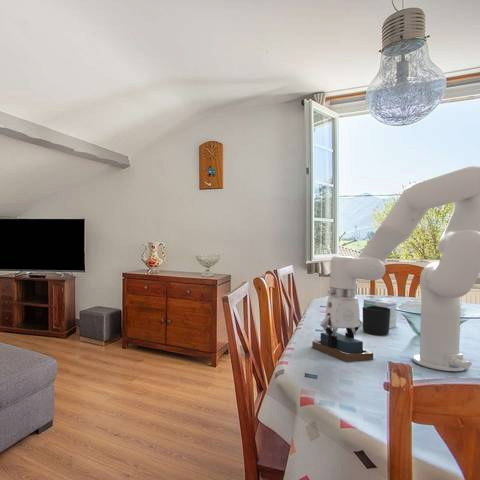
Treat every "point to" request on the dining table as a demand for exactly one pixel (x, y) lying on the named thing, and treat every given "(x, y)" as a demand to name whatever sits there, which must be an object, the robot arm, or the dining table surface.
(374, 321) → the pen holder
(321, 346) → the frame
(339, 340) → the back pad
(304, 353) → the dining table surface
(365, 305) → the light bulb box
